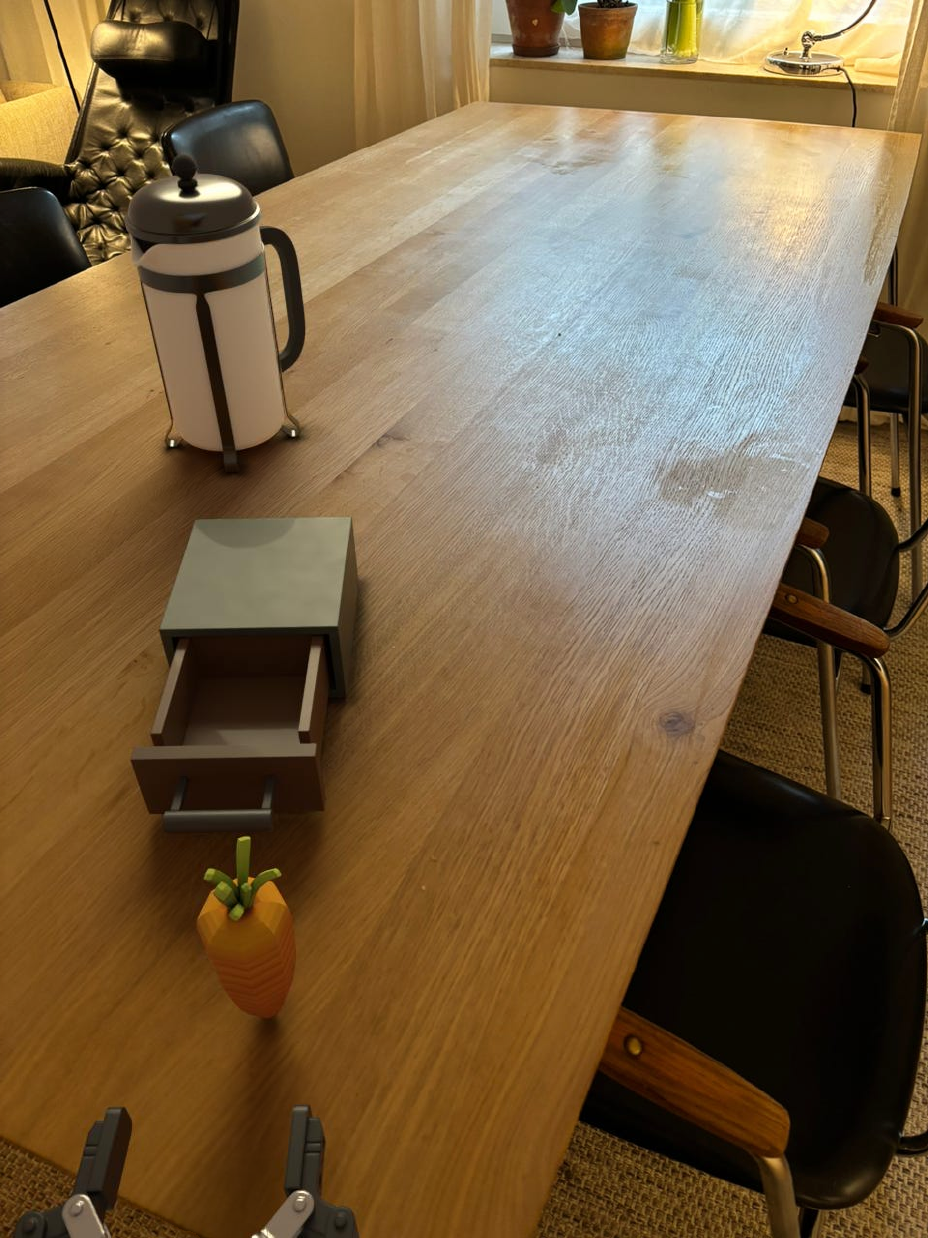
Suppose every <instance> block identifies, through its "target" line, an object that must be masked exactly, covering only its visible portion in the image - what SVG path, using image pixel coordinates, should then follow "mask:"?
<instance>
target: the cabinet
mask: <svg viewBox="0 0 928 1238" xmlns="http://www.w3.org/2000/svg"><path fill="white" fill-rule="evenodd" d="M359 587H360V582H359V572H358V562H357V554H356V543H355V533H354V525H353V517H352V516H319V517H318V516H315V517H313V516H311V517H307V516H306V517H258V518H256V517H255V518H252V517H251V518H199V519H198V518H197V519H195V520H194V523H193V526H192V528H191V532H190V535H189V538H188V541H187V544H186V546H185V550H184V553H183V555H182V559H181V562H180V565H179V567H178V570H177V574H176V577H175V579H174V583H173V585H172V589H171V592H170V595H169V598H168V600H167V603H166V607H165V610H164V612H163V616H162V619H161V622H160V624H159V628H158V633H159V635H160V639H161V643H162V646H163V650H164V653H165V657H166V660H167V664H168V669H170V668H171V664H172V661H173V658H174V654H175V651H176V648H177V645H178V641H179V638H180V637H199V636H255V635H310V634H325V638H326V646H327V653H328V660H329V667H330V675H331V677H330V685H329V693H328V699H332V698H335V699H337V698H347V697H348V692H349V691H348V689H349V681H350V671H351V663H352V662H351V661H352V654H353V653H352V651H353V645H354V644H353V643H354V634H355V624H356V616H357V606H358V598H359V597H358V596H359Z"/></svg>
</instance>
